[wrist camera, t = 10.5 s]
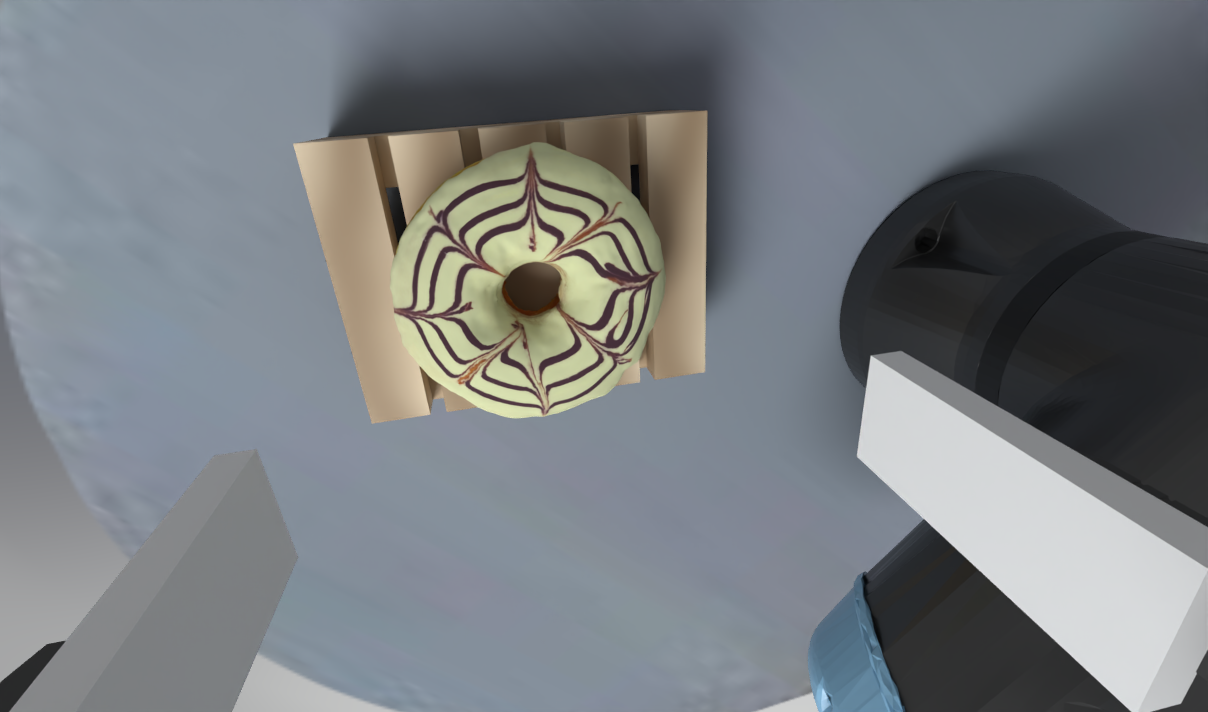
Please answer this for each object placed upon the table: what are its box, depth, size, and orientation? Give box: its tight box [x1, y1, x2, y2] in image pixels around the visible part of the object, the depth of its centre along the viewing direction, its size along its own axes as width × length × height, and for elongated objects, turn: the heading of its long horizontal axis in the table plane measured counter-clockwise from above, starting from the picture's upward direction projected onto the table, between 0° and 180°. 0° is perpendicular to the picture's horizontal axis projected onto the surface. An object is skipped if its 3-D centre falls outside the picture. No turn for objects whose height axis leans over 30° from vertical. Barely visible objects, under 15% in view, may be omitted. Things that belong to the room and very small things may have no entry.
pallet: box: [293, 110, 707, 423], centre depth 26 cm, size 16×12×5 cm
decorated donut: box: [390, 142, 666, 418], centre depth 23 cm, size 10×11×4 cm
